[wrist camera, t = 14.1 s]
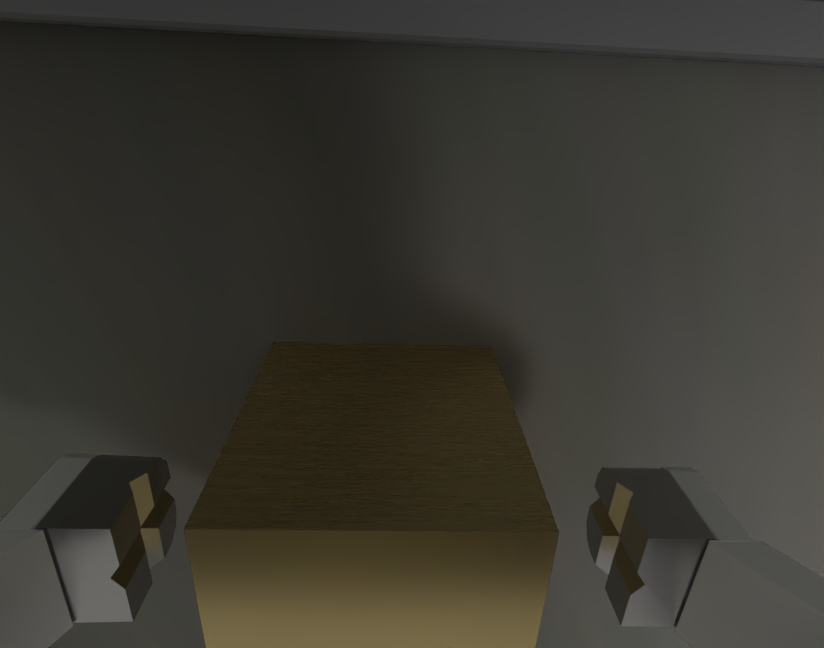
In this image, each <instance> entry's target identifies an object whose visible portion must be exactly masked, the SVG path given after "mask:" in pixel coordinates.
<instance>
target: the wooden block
mask: <svg viewBox="0 0 824 648" xmlns="http://www.w3.org/2000/svg"><path fill="white" fill-rule="evenodd" d="M184 533H185V539H186V544H187V549H188V555H189V560H190V565H191V571H192V576H193V581H194V587H195V592H196V597H197V603H198V608H199V613H200V619H201V624H202V629H203V635H204V640H205V646H206V648H535V647H536V642H537V637H538V632H539V627H540V623H541V618H542V613H543V608H544V603H545V598H546V593H547V588H548V584H549V579H550V574H551V569H552V564H553V559H554V554H555V550H556V545H557V540H558V535H559V531H558V528H557V525H556V523H555V520H554V517H553V514H552V512H551V509H550V506H549V503H548V501H547V498H546V495H545V492H544V490H543V487H542V484H541V481H540V479H539V476H538V473H537V470H536V468H535V465H534V462H533V459H532V457H531V454H530V451H529V448H528V446H527V443H526V440H525V437H524V435H523V432H522V429H521V426H520V424H519V421H518V418H517V415H516V413H515V410H514V407H513V404H512V402H511V399H510V396H509V393H508V391H507V388H506V385H505V382H504V380H503V377H502V374H501V371H500V369H499V366H498V363H497V360H496V358H495V355H494V352H493V349H492V347H482V346H436V345H391V344H346V343H300V342H273V344H272V346H271V349H270V351H269V353H268V355H267V357H266V359H265V361H264V363H263V365H262V367H261V369H260V371H259V374H258V376H257V378H256V380H255V382H254V384H253V386H252V388H251V390H250V392H249V394H248V396H247V399H246V401H245V403H244V405H243V407H242V409H241V411H240V413H239V415H238V417H237V419H236V421H235V424H234V426H233V428H232V430H231V432H230V434H229V436H228V438H227V440H226V442H225V444H224V446H223V448H222V451H221V453H220V455H219V457H218V459H217V461H216V463H215V465H214V467H213V469H212V471H211V473H210V476H209V478H208V480H207V482H206V484H205V486H204V488H203V490H202V492H201V494H200V496H199V498H198V501H197V503H196V505H195V507H194V509H193V511H192V513H191V515H190V517H189V519H188V521H187V523H186V526H185V528H184Z"/></svg>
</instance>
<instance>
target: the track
mask: <svg viewBox="0 0 824 648" xmlns="http://www.w3.org/2000/svg"><path fill="white" fill-rule="evenodd" d="M0 21H11V22H28V23H46V24H64V25H82V26H100V27H118V28H136V29H154V30H171V31H189V32H207V33H225V34H243V35H261V36H279V37H297V38H315V39H332V40H350V41H368V42H386V43H404V44H422V45H440V46H458V47H475V48H493V49H511V50H529V51H547V52H565V53H583V54H601V55H619V56H636V57H654V58H672V59H690V60H708V61H726V62H744V63H762V64H780V65H797V66H815V67H824V0H0Z"/></svg>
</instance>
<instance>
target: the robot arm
mask: <svg viewBox="0 0 824 648" xmlns="http://www.w3.org/2000/svg"><path fill="white" fill-rule="evenodd" d="M170 478H171V477H170V472H169V468H168V463H167V461H166V460H164V459H163V458H161V457H141V456H119V455H86V454H68V455H65V456H62V457H60V458H59V459H58V460H57V461H56V462H55V463H54V464H53V465H52V466H51V467H50V468H49V469H48V470H47V472H46V473H45V474H44V475H43V476H42V477H41V478H40V479H39V480H38V481H37V482H36V483H35V485H34V486H33V487H32V488H31V489H30V490H29V491H28V492H27V493H26V494H25V495H24V496H23V498H22V499H21V500H20V501H19V502H18V503H17V504H16V505H15V506H14V507H13V508H12V510H11V511H10V512H9V513H8V514H7V515H6V516H5V517H4V518H3V519H2V520H1V521H0V648H49V647H50V646H51V645H52V644H53V643H54V642H56V641H57V640H58V639H59V638H60V637H61V636H63V635H64V634H65V633H66V632H67V631H68V630H70V629H71V628H72V627H73V623H85V622H133V621H134V619H135V617H136V615H137V613H138V611H139V609H140V607H141V605H142V603H143V601H144V599H145V597H146V595H147V593H148V591H149V589H150V587H151V585H152V578H151V573H150V569H151V568H152V567H154V566H155V565H156V564H158V563H159V562H160V561H162V560H163V559H164V558H165V556H166V554H167V552H168V550H169V548H170V545H171V543H172V539H173V535H174V531H175V527H176V506H175V499H174V498H173V497H172V496H171V495H170V494H169V493H168V492H167V491H166V490H165V489H164V488H165V487H166V485H167V483H168V481H169V479H170ZM595 488H596V490H597V492H598V494H599V496H600V498H599V499H598V500H597V501H595V502H594V503H593V504H592V505H591V506H590V507H589V512H588V517H587V540H588V544H589V549H590V552H591V555H592V557H593V560H594V563H595V565H596V566H598V567H599V568H600V569H601V570H602V571H604V572H605V573H606V574H607V575H608V579H607V583H606V587H605V589H606V591H607V594H608V596H609V599H610V601H611V603H612V606H613V608H614V610H615V613H616V615H617V617H618V620H619V622H620V625H621V626H635V627H661V628H676V630H675V631H676V632H677V633H678V634H679V635H680V636H681V637H682V638H683V639H684V640H685V641H686V642H687V643H688V644H689V645H690V646H691V647H692V648H824V578H823V577H821V576H819V575H818V574H816V573H814V572H813V571H811V570H809V569H808V568H806V567H804V566H803V565H801V564H799V563H798V562H796V561H794V560H793V559H791V558H789V557H788V556H786V555H784V554H783V553H781V552H779V551H778V550H776V549H774V548H773V547H771V546H769V545H768V544H766V543H764V542H759V541H752V539H751V538H750V537H749V536H748V534H747V533H746V532H745V530H744V529H743V528H742V527H741V525H740V524H739V523H738V522H737V520H736V519H735V518H734V517H733V515H732V514H731V513H730V512H729V510H728V509H727V508H726V506H725V505H724V504H723V503H722V501H721V500H720V499H719V498H718V496H717V495H716V494H715V493H714V491H713V490H712V489H711V487H710V486H709V485H708V484H707V482H706V481H705V480H704V479H703V477H702V476H701V475H700V474H699V472H697V471H696V470H694V469H692V468H660V469H658V468H605V467H602V469H601V470H600V472H599V473H598V475H597V479H596V483H595Z"/></svg>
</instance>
